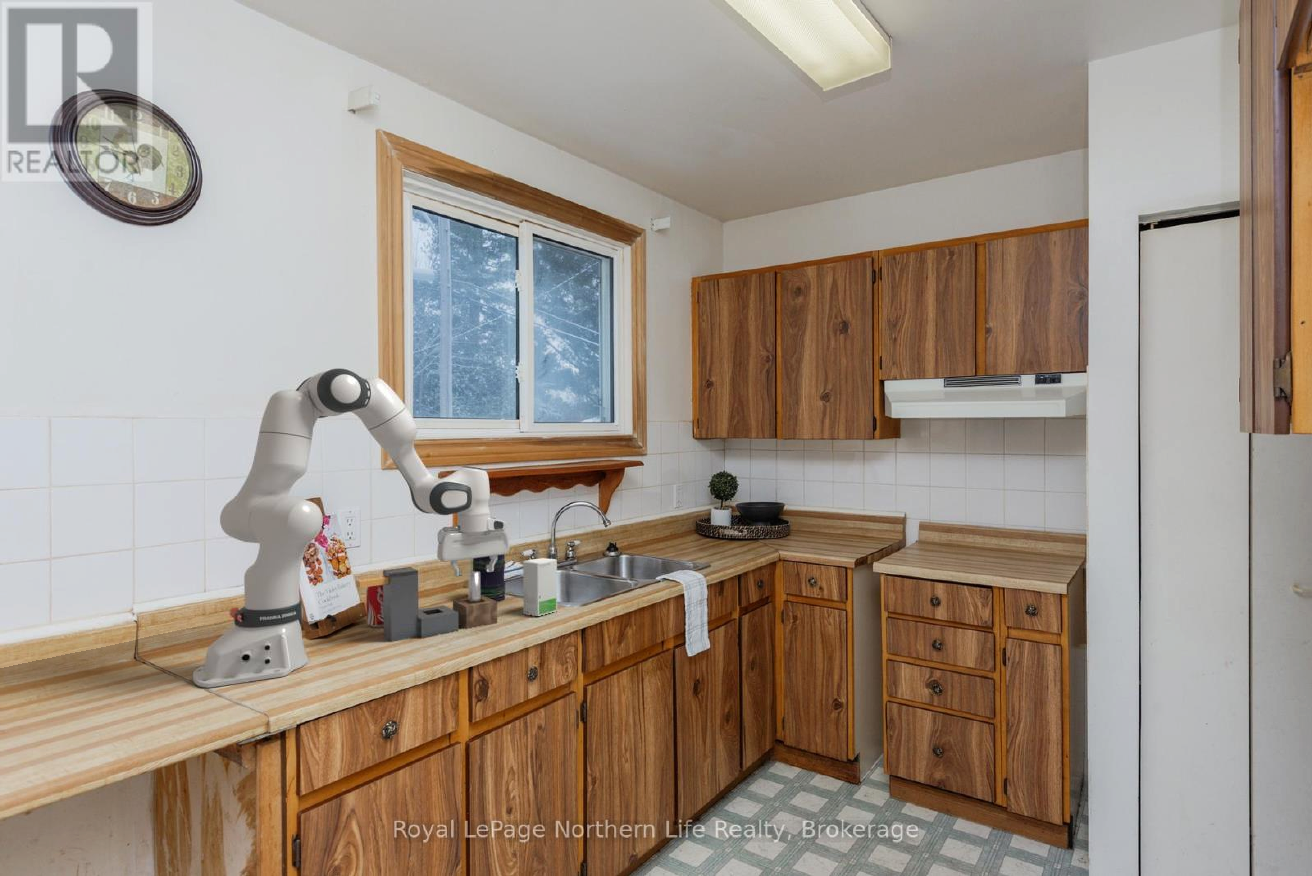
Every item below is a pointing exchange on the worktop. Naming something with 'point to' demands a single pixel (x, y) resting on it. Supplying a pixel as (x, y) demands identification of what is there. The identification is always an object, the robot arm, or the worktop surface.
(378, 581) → the bar
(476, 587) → the silver metal rod
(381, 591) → the soda can
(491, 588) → the storage jar
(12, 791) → the worktop surface
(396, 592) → the socket block
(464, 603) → the brown wooden square holder
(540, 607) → the skincare box
